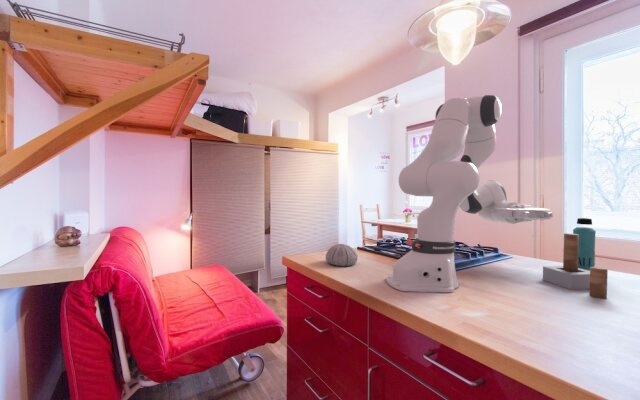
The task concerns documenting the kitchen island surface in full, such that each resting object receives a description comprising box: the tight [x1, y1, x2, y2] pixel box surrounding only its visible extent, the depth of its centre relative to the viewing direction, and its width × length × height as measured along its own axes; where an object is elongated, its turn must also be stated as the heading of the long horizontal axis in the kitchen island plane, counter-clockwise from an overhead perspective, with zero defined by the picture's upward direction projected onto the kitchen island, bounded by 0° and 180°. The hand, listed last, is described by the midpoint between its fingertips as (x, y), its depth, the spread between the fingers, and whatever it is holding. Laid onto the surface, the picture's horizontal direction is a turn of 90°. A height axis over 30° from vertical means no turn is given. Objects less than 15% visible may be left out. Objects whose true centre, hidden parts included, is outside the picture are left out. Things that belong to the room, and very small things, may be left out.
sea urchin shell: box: [324, 243, 358, 267], centre depth 122 cm, size 13×14×8 cm
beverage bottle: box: [572, 217, 596, 271], centre depth 108 cm, size 6×7×20 cm
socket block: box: [542, 265, 590, 291], centre depth 95 cm, size 10×10×4 cm
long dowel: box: [562, 233, 579, 272], centre depth 95 cm, size 4×4×16 cm
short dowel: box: [588, 266, 609, 299], centre depth 84 cm, size 4×4×8 cm
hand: (539, 214), depth 106 cm, fingers open, 8 cm apart
